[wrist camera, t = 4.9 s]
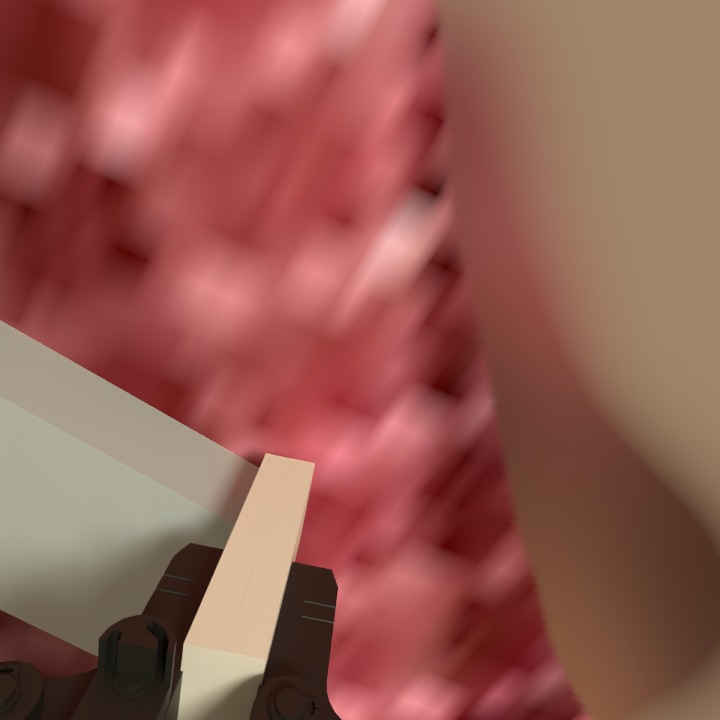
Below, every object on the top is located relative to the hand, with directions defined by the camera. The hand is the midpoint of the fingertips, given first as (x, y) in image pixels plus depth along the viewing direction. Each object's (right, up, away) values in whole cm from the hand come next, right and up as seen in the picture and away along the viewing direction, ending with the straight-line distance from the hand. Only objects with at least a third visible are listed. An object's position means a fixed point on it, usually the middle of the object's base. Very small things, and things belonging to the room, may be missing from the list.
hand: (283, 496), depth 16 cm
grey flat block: (-8, +1, +2) cm, 9 cm away
